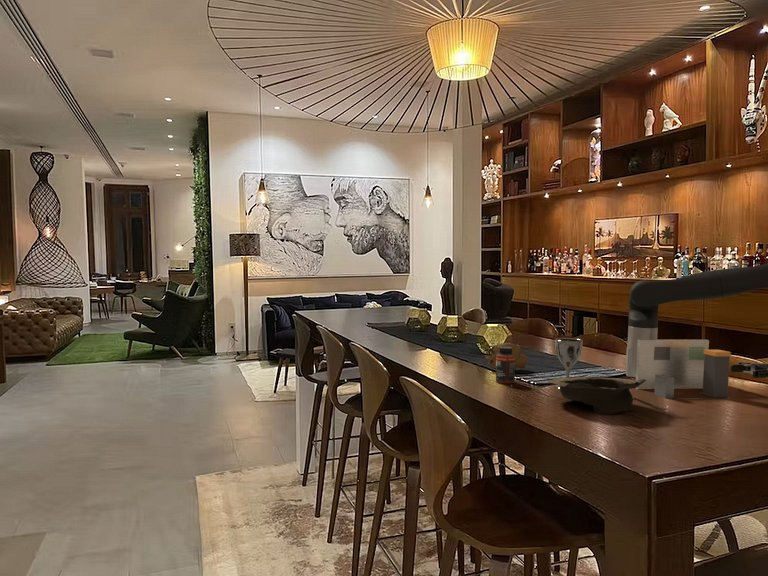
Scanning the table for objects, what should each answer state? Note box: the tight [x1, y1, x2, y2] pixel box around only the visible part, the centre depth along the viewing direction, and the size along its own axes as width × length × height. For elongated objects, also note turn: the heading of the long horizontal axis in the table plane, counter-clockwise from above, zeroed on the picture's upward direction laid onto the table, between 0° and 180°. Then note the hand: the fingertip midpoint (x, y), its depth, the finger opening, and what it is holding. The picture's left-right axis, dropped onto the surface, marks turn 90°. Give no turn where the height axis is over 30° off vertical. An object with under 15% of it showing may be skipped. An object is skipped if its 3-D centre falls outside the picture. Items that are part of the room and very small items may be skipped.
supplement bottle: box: [495, 347, 516, 385], centre depth 186 cm, size 6×6×11 cm
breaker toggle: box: [701, 349, 732, 398], centre depth 168 cm, size 5×5×13 cm
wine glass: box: [554, 337, 583, 390], centre depth 180 cm, size 8×8×15 cm
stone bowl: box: [547, 376, 646, 415], centre depth 158 cm, size 25×25×9 cm
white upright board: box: [635, 339, 725, 400], centre depth 170 cm, size 23×15×16 cm
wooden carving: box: [484, 342, 530, 370], centre depth 206 cm, size 16×5×10 cm, turn 108°
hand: (742, 371), depth 170 cm, fingers open, 8 cm apart
